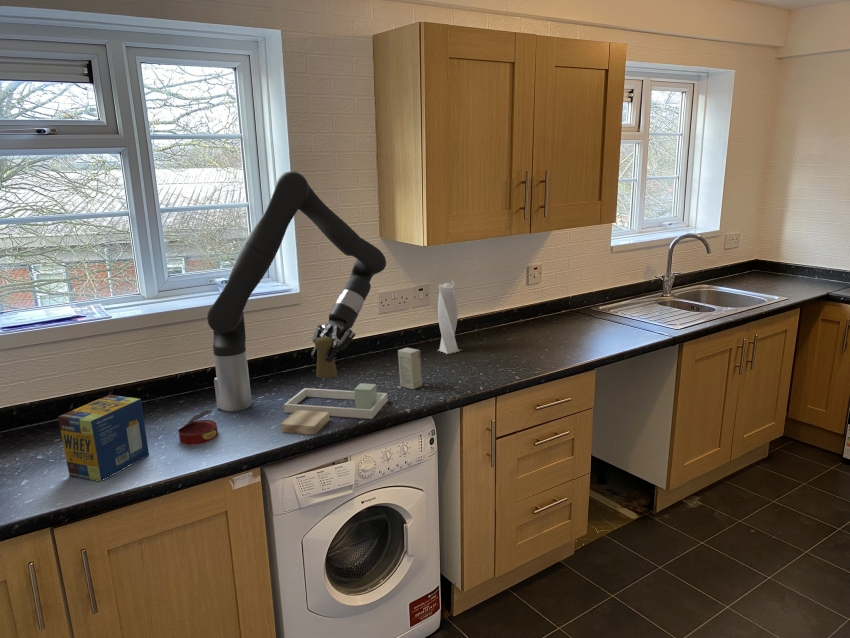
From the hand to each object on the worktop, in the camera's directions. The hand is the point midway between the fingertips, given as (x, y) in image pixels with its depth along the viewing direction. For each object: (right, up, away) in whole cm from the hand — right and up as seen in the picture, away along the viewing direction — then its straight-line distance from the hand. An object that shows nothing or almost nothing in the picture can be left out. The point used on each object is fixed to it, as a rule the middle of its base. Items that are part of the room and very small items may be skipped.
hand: (320, 359), depth 176 cm
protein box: (-48, -25, -21) cm, 59 cm away
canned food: (-32, -21, -7) cm, 39 cm away
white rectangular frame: (+3, -15, +11) cm, 19 cm away
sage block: (+12, -15, +9) cm, 21 cm away
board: (-4, -18, -2) cm, 19 cm away
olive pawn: (+1, -5, +3) cm, 6 cm away
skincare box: (+25, -11, +26) cm, 38 cm away
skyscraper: (+39, -1, +62) cm, 73 cm away
